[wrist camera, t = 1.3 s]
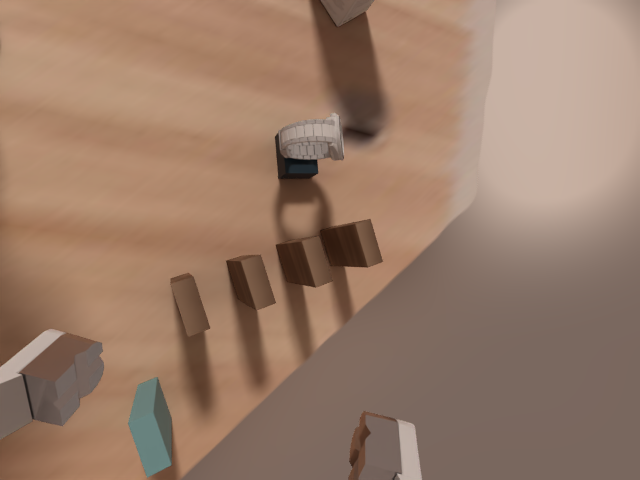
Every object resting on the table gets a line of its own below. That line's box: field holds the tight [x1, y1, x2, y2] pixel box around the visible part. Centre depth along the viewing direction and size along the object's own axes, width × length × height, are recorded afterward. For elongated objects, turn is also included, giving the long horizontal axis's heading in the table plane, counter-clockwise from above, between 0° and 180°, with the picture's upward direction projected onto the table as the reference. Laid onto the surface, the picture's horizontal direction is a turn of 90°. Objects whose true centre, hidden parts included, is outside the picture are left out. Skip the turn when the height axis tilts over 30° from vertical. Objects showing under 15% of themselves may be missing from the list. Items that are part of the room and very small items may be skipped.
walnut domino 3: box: [276, 236, 333, 287], centre depth 42 cm, size 2×5×10 cm, turn 18°
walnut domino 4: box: [321, 219, 383, 267], centre depth 44 cm, size 2×5×10 cm, turn 18°
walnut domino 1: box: [171, 273, 210, 337], centre depth 37 cm, size 2×5×10 cm, turn 18°
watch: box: [275, 113, 344, 179], centre depth 42 cm, size 6×8×11 cm
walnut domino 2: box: [227, 255, 276, 310], centre depth 40 cm, size 2×5×10 cm, turn 18°
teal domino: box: [128, 377, 172, 477], centre depth 35 cm, size 2×5×10 cm, turn 18°
